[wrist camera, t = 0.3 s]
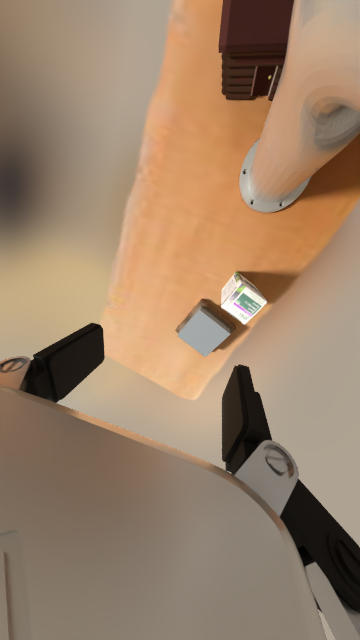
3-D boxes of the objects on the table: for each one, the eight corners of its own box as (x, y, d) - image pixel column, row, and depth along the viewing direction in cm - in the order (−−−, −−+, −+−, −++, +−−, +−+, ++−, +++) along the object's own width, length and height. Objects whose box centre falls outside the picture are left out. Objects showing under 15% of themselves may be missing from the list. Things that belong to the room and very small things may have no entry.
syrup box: (254, 284, 39) (270, 301, 26) (238, 302, 42) (245, 326, 29) (235, 270, 39) (242, 281, 26) (220, 290, 42) (219, 308, 29)
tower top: (201, 306, 42) (199, 309, 40) (230, 328, 43) (230, 334, 40) (179, 330, 47) (177, 335, 44) (206, 351, 47) (205, 357, 45)
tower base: (202, 297, 44) (200, 300, 42) (234, 324, 45) (235, 328, 42) (177, 326, 50) (175, 330, 47) (207, 349, 51) (206, 355, 48)
